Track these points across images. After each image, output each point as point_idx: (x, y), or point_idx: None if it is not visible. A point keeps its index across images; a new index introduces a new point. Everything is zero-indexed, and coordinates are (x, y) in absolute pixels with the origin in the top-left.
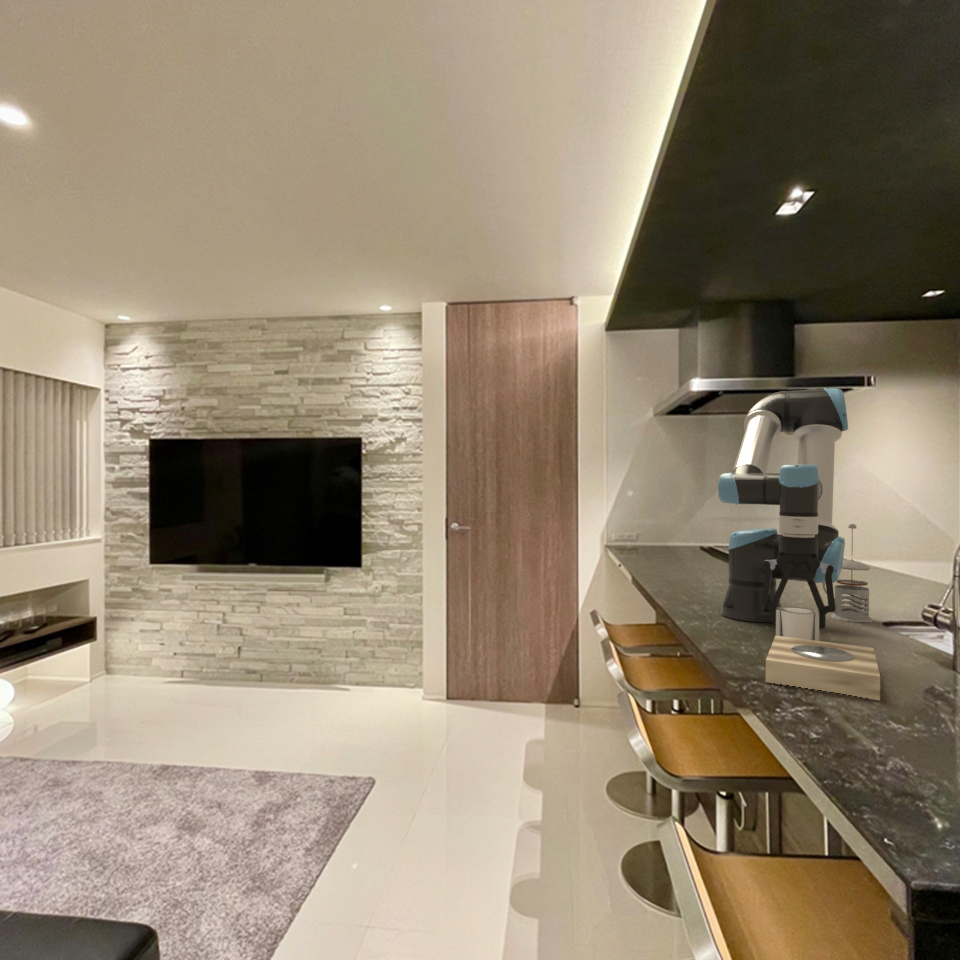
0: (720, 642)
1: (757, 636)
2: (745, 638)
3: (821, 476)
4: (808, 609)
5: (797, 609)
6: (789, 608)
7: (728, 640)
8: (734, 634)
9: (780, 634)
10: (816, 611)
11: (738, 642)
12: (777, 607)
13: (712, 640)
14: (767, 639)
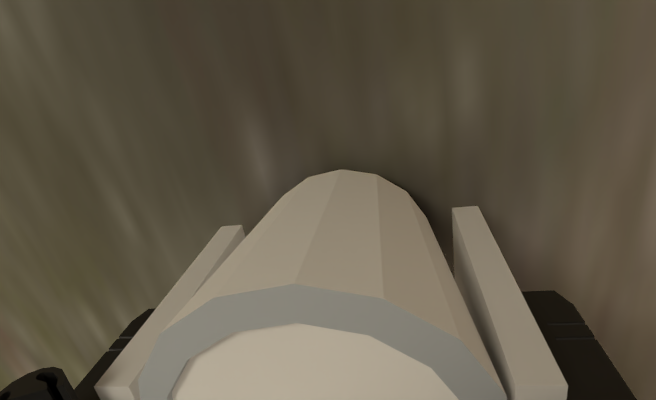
0: (64, 369)
1: (104, 148)
2: (89, 238)
3: None
4: (424, 365)
5: (301, 396)
6: (214, 392)
7: (63, 321)
8: (5, 185)
9: (238, 240)
10: (528, 386)
11: (110, 331)
12: (99, 390)
13: (25, 356)
14: (175, 186)
